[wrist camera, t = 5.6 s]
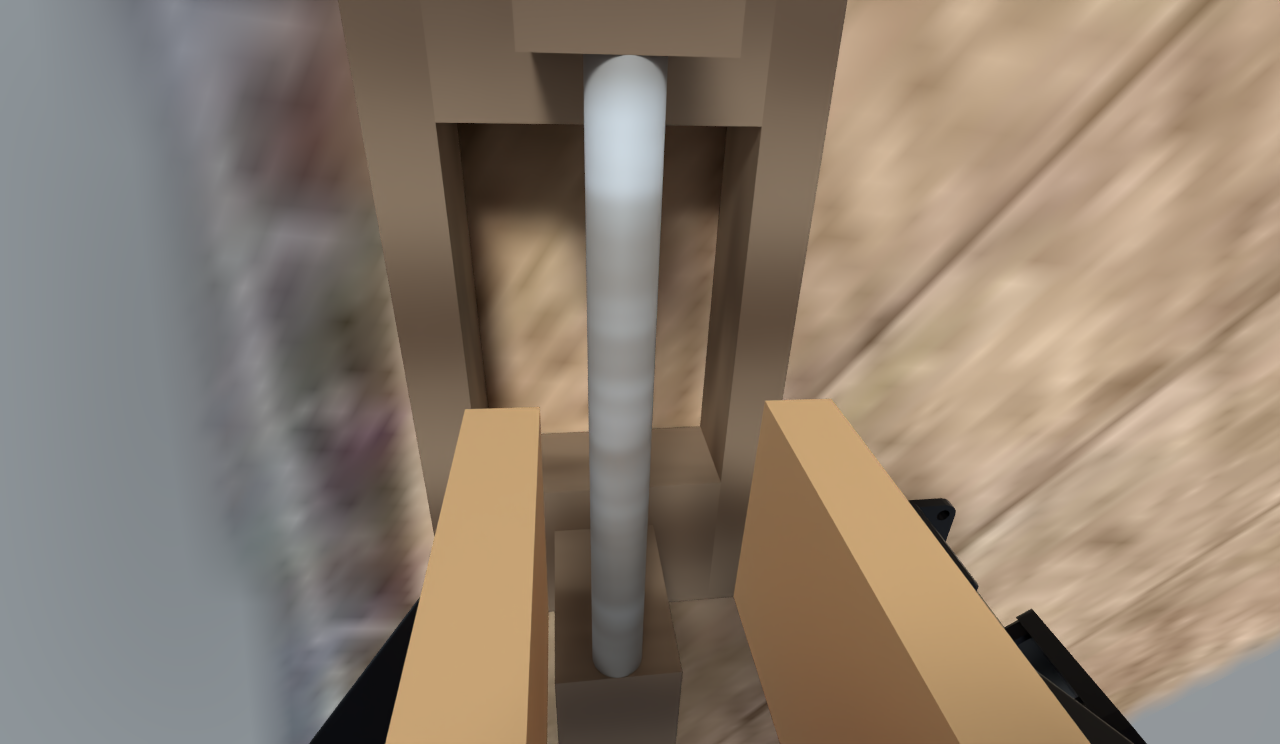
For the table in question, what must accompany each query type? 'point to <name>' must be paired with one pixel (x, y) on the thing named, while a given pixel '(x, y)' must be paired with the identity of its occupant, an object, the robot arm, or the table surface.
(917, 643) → the clip
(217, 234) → the table surface
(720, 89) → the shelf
